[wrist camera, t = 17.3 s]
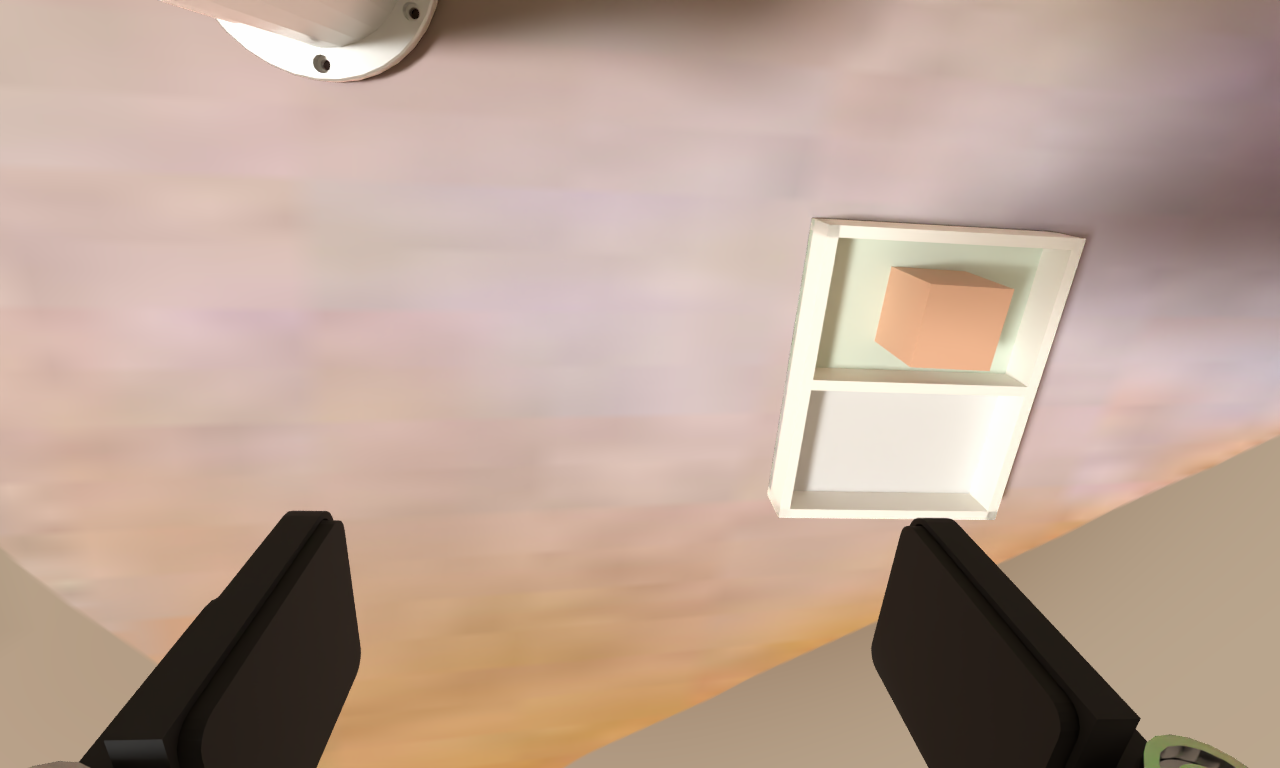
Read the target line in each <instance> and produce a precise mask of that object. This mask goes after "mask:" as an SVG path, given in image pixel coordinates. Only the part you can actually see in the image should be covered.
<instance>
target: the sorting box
mask: <svg viewBox="0 0 1280 768" xmlns="http://www.w3.org/2000/svg"><path fill="white" fill-rule="evenodd" d="M1085 241H1086V239H1084V238H1080V237H1075V236H1070V235H1066V234H1061V233H1056V232H1050V231H1033V230H1015V229H998V228H980V227H962V226H945V225H927V224H910V223H892V222H875V221H857V220H839V219H822V218H812V220H811V226H810V233H809V239H808V245H807V251H806V257H805V263H804V270H803V276H802V282H801V288H800V294H799V301H798V307H797V313H796V319H795V325H794V332H793V338H792V344H791V350H790V356H789V363H788V369H787V375H786V381H785V387H784V394H783V400H782V406H781V412H780V418H779V424H778V431H777V437H776V443H775V449H774V455H773V462H772V468H771V474H770V480H769V486H768V493H767V495H768V497H769V499H770V501H771V503H772V505H773V507H774V509H775V511H776V513H777V515H778V517H779V518H862V519H916V518H950V519H956V520H995V518H996V514H997V511H998V508H999V505H1000V502H1001V499H1002V496H1003V493H1004V490H1005V487H1006V484H1007V481H1008V478H1009V475H1010V471H1011V468H1012V465H1013V462H1014V459H1015V456H1016V453H1017V450H1018V447H1019V444H1020V441H1021V438H1022V435H1023V432H1024V428H1025V425H1026V422H1027V419H1028V416H1029V413H1030V410H1031V407H1032V404H1033V401H1034V398H1035V395H1036V392H1037V389H1038V386H1039V382H1040V379H1041V376H1042V373H1043V370H1044V367H1045V364H1046V361H1047V358H1048V355H1049V352H1050V349H1051V346H1052V343H1053V339H1054V336H1055V333H1056V330H1057V327H1058V324H1059V321H1060V318H1061V315H1062V312H1063V309H1064V306H1065V303H1066V300H1067V297H1068V293H1069V290H1070V287H1071V284H1072V281H1073V278H1074V275H1075V272H1076V269H1077V266H1078V263H1079V260H1080V257H1081V254H1082V250H1083V247H1084V244H1085ZM891 266H892V267H907V268H923V269H938V270H954V271H966V272H969V273H971V274H974V275H977V276H980V277H982V278H985V279H988V280H991V281H993V282H996V283H999V284H1001V285H1004V286H1007V287H1010V288H1012V289H1014V293H1013V296H1012V299H1011V303H1010V306H1009V309H1008V312H1007V316H1006V319H1005V322H1004V325H1003V329H1002V332H1001V335H1000V339H999V342H998V345H997V348H996V352H995V355H994V358H993V361H992V365H991V368H990V371H976V370H955V369H935V368H914V367H909V366H908V365H906V364H905V363H904V362H902V361H901V360H900V359H898V358H897V357H896V356H894V355H893V354H891V353H890V352H889V351H887V350H886V349H885V348H883V347H882V346H880V345H879V344H878V343H876V342H875V337H876V332H877V328H878V324H879V319H880V315H881V310H882V306H883V302H884V297H885V293H886V288H887V284H888V280H889V275H890V271H891Z"/></svg>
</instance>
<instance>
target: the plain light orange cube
mask: <svg viewBox="0 0 1280 768" xmlns="http://www.w3.org/2000/svg"><path fill="white" fill-rule="evenodd" d="M1013 293H1014V289H1012V288H1010V287H1007V286H1004V285H1001V284H999V283H996V282H993V281H991V280H988V279H985V278H982V277H980V276H977V275H974V274H971V273H969V272H966V271H954V270H938V269H923V268H907V267H892V266H891V271H890V275H889V280H888V284H887V288H886V293H885V297H884V302H883V306H882V310H881V315H880V319H879V324H878V328H877V332H876V337H875V342H876V343H878V344H879V345H880V346H882V347H883V348H885V349H886V350H887V351H889V352H890V353H891V354H893V355H894V356H896V357H897V358H898V359H900V360H901V361H902V362H904V363H905V364H906V365H908V366H909V367H914V368H935V369H955V370H976V371H990V368H991V365H992V361H993V358H994V355H995V352H996V348H997V345H998V342H999V339H1000V335H1001V332H1002V329H1003V325H1004V322H1005V319H1006V316H1007V312H1008V309H1009V306H1010V303H1011V299H1012V296H1013Z"/></svg>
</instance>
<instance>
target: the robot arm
mask: <svg viewBox="0 0 1280 768" xmlns="http://www.w3.org/2000/svg"><path fill="white" fill-rule="evenodd" d="M158 1H161V2H164V3H168V4H171V5H174V6H177V7H181V8H184V9H187V10H190V11H194V12H197V13H200V14H203V15H207V16H210V17H213V18H215V19H216V20H217V21H218V22H219V24H220V25H221V26H222V27H223V28H224V30H225V31H226V32H227V33H228V34H229V35H231V36H232V37H233V38H234V39H235V40H236V41H237V42H239V43H240V44H241V45H242V46H243V47H244V48H245V49H247V50H248V51H249V52H251V53H252V54H254V55H255V56H257V57H259V58H260V59H262V60H263V61H265V62H267V63H268V64H270V65H271V66H274V67H276V68H279V69H281V70H283V71H286V72H288V73H291V74H293V75H296V76H300V77H304V78H308V79H312V80H319V81H327V82H348V81H359V80H362V79H365V78H369V77H372V76H375V75H378V74H380V73H382V72H384V71H386V70H387V69H389V68H391V67H393V66H394V65H396V64H398V63H399V62H400V61H401V60H402V59H403V58H404V57H405V56H406V55H408V54H409V53H410V52H411V51H412V50H413V49H414V48H415V46H416V45H417V44H418V42H419V41H420V39H421V38H422V36H423V35H424V33H425V32H426V31H427V29H428V26H429V24H430V22H431V19H432V17H433V15H434V12H435V10H436V8H437V3H438V0H158ZM413 9H418V10H419V13H420V14H419V17H418V18H417V19H413V18H412V16H411V12H412V10H413ZM327 60H328V61H329V62H330V64H331V65H330V70H328V71H327V70H326V69H325V68H324V62H325V61H327ZM871 649H872V650H871V651H872V659H873V663H874V666H875V668H876V670H877V672H878V674H879V676H880V678H881V679H882V681H883V683H884V685H885V687H886V689H887V691H888V692H889V694H890V696H891V698H892V700H893V702H894V704H895V705H896V707H897V709H898V711H899V713H900V715H901V717H902V719H903V721H904V723H905V724H906V726H907V728H908V730H909V732H910V734H911V736H912V737H913V739H914V741H915V743H916V745H917V747H918V749H919V751H920V753H921V754H922V756H923V758H924V760H925V762H926V764H927V766H928V767H929V768H1248V767H1247V766H1245V765H1244V764H1242V763H1241V762H1239V761H1238V760H1236V759H1235V758H1233V757H1232V756H1230V755H1228V754H1226V753H1224V752H1222V751H1220V750H1218V749H1216V748H1214V747H1212V746H1210V745H1208V744H1205V743H1202V742H1199V741H1197V740H1193V739H1191V738H1188V737H1182V736H1176V735H1162V736H1155V737H1154V738H1152V739H1151V740H1149V741H1148V742H1147V741H1146V740H1145V739H1144V738H1143V737H1142V736H1141V734H1140V733H1139V732H1138V731H1137V730H1136V727H1137V725H1138V722H1139V721H1140V717H1139V716H1138V715H1137V714H1136V713H1135V712H1134V711H1133V710H1132V709H1131V708H1130V707H1129V706H1128V705H1127V703H1126V702H1125V701H1123V699H1121V697H1120V696H1119V695H1118V694H1117V693H1116V692H1115V691H1114V690H1113V689H1112V688H1111V687H1110V685H1108V683H1107V682H1106V681H1105V680H1104V679H1103V678H1102V677H1101V676H1100V675H1099V674H1098V673H1097V672H1096V671H1095V670H1094V668H1093V667H1091V665H1090V664H1089V663H1088V662H1087V661H1086V660H1085V659H1084V658H1083V657H1082V656H1081V655H1080V654H1079V652H1078V651H1077V650H1076V649H1075V648H1074V647H1073V646H1072V645H1071V644H1070V643H1069V642H1068V641H1067V640H1066V639H1065V638H1064V637H1063V636H1062V635H1061V633H1060V632H1059V631H1058V630H1057V629H1056V628H1055V627H1054V626H1053V625H1052V624H1051V623H1050V622H1049V621H1048V620H1047V618H1045V616H1044V615H1043V614H1042V613H1041V612H1040V611H1039V610H1038V609H1037V608H1036V607H1035V606H1034V605H1033V604H1032V603H1031V601H1030V600H1029V599H1028V598H1027V597H1026V596H1025V595H1024V594H1023V593H1022V592H1021V591H1020V590H1019V589H1018V588H1017V587H1016V585H1015V584H1014V583H1013V582H1012V581H1011V580H1010V579H1009V578H1008V577H1007V576H1006V575H1005V574H1004V573H1003V572H1002V571H1001V570H1000V569H999V567H998V566H997V565H996V564H995V563H994V562H993V561H992V560H991V559H990V558H989V557H988V556H987V555H986V554H985V552H984V551H983V550H982V549H981V548H980V547H979V546H978V545H977V544H976V543H975V542H974V541H973V540H972V539H971V538H970V537H969V535H968V534H967V533H966V532H965V531H964V530H963V529H962V528H961V527H960V526H959V525H958V524H957V523H956V522H955V521H954V520H952V519H950V518H916V519H914V520H913V521H912V522H911V524H910V526H906V527H904V528H903V530H902V532H901V535H900V539H899V542H898V546H897V550H896V554H895V558H894V561H893V565H892V569H891V573H890V577H889V581H888V584H887V588H886V592H885V596H884V600H883V603H882V607H881V611H880V615H879V619H878V623H877V627H876V630H875V634H874V638H873V642H872V648H871ZM360 657H361V647H360V640H359V633H358V625H357V618H356V611H355V603H354V596H353V589H352V581H351V574H350V567H349V559H348V552H347V545H346V537H345V530H344V525H343V523H342V522H341V521H335V520H333V518H332V516H331V514H330V513H329V512H327V511H289V512H287V513H286V514H285V515H284V516H283V517H282V519H281V520H280V521H279V522H278V524H277V525H276V526H275V527H274V529H273V530H272V531H271V532H270V534H269V535H268V536H267V537H266V539H265V540H264V541H263V542H262V544H261V545H260V546H259V547H258V549H257V550H256V551H255V552H254V554H253V555H252V556H251V557H250V558H249V560H248V561H247V562H246V563H245V565H244V566H243V567H242V568H241V570H240V571H239V572H238V573H237V575H236V576H235V577H234V578H233V580H232V581H231V582H230V583H229V585H228V586H227V587H226V588H225V590H224V591H223V592H222V593H221V595H220V596H219V597H218V598H216V599H214V600H212V601H211V602H210V603H209V604H208V605H207V606H206V607H205V608H204V609H203V610H202V611H201V613H200V614H199V615H198V616H197V617H196V619H195V620H194V621H193V622H192V624H191V625H190V626H189V627H188V629H187V630H186V631H185V632H184V633H183V635H182V636H181V637H180V638H179V640H178V641H177V642H176V643H175V644H174V646H173V647H172V648H171V649H170V651H169V652H168V653H167V654H166V656H165V657H164V658H163V659H162V660H161V662H160V663H159V664H158V665H157V667H156V668H155V669H154V670H153V672H152V673H151V674H150V675H149V676H148V678H147V679H146V680H145V681H144V683H143V684H142V685H141V686H140V688H139V689H138V690H137V691H136V692H135V694H134V695H133V696H132V698H131V699H130V700H129V701H128V703H127V704H126V705H125V706H124V707H123V708H122V710H121V711H120V712H119V713H118V715H117V716H116V717H115V718H114V720H113V721H112V722H111V723H110V724H109V726H108V727H107V728H106V730H105V731H104V732H103V733H102V734H101V736H100V737H99V738H98V739H97V740H96V742H95V743H94V744H93V745H92V747H91V748H90V749H89V750H88V752H87V753H86V754H85V755H84V756H83V758H82V759H81V760H80V761H79V762H63V761H58V762H52V763H48V764H42V765H37V766H32V767H30V768H316V767H317V765H318V763H319V760H320V758H321V756H322V754H323V751H324V749H325V747H326V744H327V742H328V740H329V737H330V735H331V733H332V730H333V728H334V726H335V723H336V721H337V719H338V716H339V714H340V712H341V710H342V707H343V705H344V703H345V700H346V698H347V696H348V693H349V691H350V689H351V686H352V684H353V682H354V679H355V677H356V675H357V672H358V668H359V664H360Z"/></svg>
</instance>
